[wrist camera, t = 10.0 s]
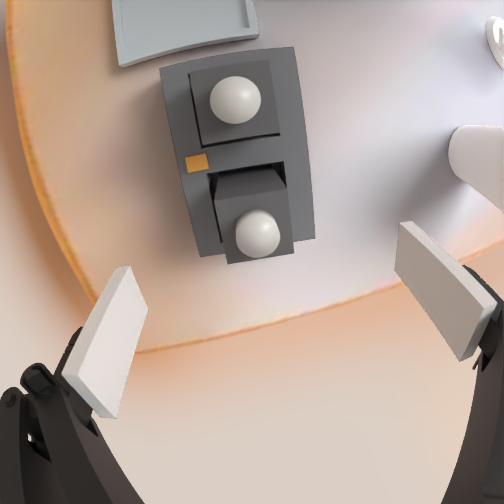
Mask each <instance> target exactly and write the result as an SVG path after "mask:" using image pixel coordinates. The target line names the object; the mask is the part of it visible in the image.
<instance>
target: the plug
mask: <svg viewBox="0 0 504 504" xmlns="http://www.w3.org/2000/svg"><path fill="white" fill-rule="evenodd" d="M214 203H215V208H216V213H217V217H218V222H219V227H220V231H221V236H222V240H223V245H224V249H225V254H226V258H227V263H228V264H233V263H239V262H245V261H251V260H257V259H263V258H269V257H275V256H281V255H286V254H292V253H294V247H293V236H292V227H291V217H290V208H289V199H288V191H287V188H286V186H285V185H284V183H283V182H282V180H281V179H280V177H279V176H278V174H277V173H276V172H275V170H274V169H273V167H272V166H271V164H270V165H264V166H257V167H251V168H245V169H239V170H233V171H227V172H222V173H219V177H218V182H217V187H216V193H215V198H214Z"/></svg>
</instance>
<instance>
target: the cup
mask: <svg viewBox="0 0 504 504" xmlns="http://www.w3.org/2000/svg"><path fill="white" fill-rule="evenodd" d="M448 156H449V163H450V166H451V168H452V170H453V172H454V173H455V175H456V176H458V177H459V178H460V179H462V180H463V181H464V182H466V183H467V184H469V185H470V186H471V187H472V188H474V189H475V190H476V191H478V192H479V193H480V194H482V195H483V196H484V197H485V198H487V199H488V200H489V201H490V202H492V203H493V204H494V205H495V206H496V207H498V208H499V209H500V210H501V211H502V212H503V213H504V127H500V126H479V125H463V126H461V127H459V128H458V129H456V131H455V132H454V133H453V135H452V137H451V140H450V143H449V150H448Z"/></svg>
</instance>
